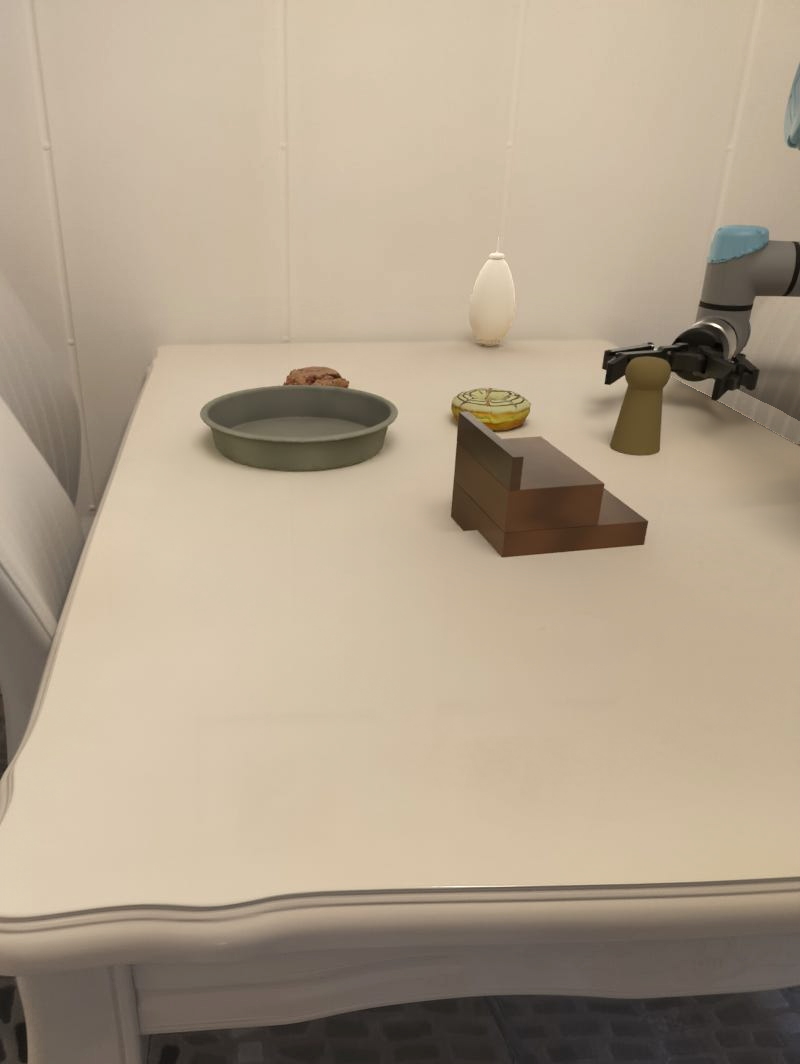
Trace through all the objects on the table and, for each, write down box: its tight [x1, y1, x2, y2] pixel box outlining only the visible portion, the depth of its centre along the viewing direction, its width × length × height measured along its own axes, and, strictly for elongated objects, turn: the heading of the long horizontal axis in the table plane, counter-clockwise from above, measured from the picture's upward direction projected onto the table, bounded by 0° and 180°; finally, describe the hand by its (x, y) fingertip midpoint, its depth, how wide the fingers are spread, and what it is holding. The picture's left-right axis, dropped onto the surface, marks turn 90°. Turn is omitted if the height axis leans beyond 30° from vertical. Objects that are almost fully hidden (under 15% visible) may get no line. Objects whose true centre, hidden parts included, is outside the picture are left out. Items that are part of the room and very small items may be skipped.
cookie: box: [282, 365, 350, 388], centre depth 138 cm, size 10×11×3 cm
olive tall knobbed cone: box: [609, 357, 672, 456], centre depth 112 cm, size 6×6×11 cm
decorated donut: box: [450, 387, 532, 432], centre depth 124 cm, size 10×11×4 cm
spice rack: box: [450, 412, 649, 558], centre depth 88 cm, size 14×14×11 cm
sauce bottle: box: [468, 236, 517, 347], centre depth 161 cm, size 8×8×18 cm
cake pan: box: [199, 384, 399, 471], centre depth 115 cm, size 25×25×4 cm
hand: (660, 381), depth 117 cm, fingers open, 13 cm apart
